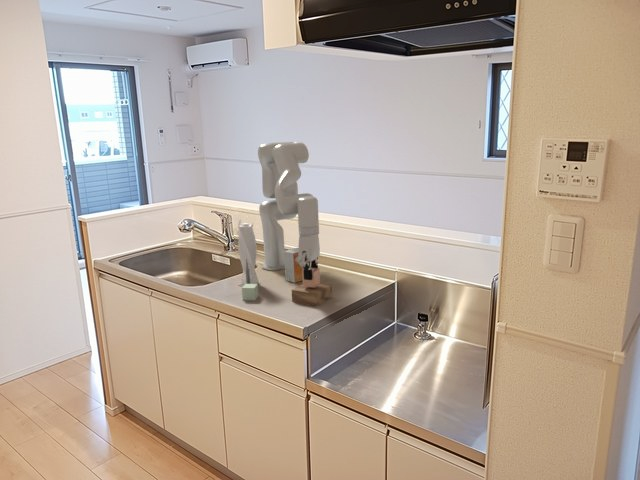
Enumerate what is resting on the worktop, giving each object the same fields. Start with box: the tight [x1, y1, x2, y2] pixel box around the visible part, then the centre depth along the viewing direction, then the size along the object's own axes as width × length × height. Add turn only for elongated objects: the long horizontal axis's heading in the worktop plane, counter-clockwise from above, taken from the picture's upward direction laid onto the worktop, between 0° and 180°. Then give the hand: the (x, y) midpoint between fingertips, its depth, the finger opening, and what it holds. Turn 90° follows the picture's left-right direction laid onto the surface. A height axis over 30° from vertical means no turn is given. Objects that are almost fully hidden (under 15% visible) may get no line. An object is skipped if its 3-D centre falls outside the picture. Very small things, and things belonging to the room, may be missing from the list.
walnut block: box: [291, 283, 333, 307], centre depth 192 cm, size 11×11×5 cm
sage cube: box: [241, 284, 260, 301], centre depth 196 cm, size 5×5×5 cm
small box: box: [284, 247, 309, 284], centre depth 216 cm, size 8×6×13 cm
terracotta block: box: [302, 267, 321, 287], centre depth 190 cm, size 5×5×6 cm
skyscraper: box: [237, 218, 262, 288], centre depth 211 cm, size 8×8×28 cm
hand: (311, 276), depth 190 cm, fingers closed on terracotta block, 5 cm apart
